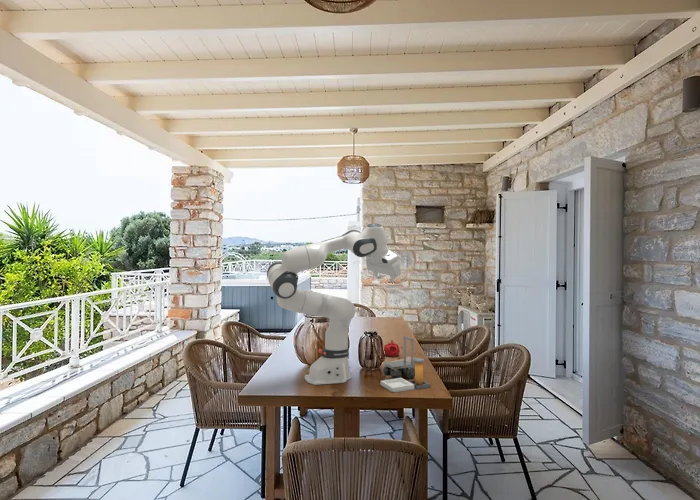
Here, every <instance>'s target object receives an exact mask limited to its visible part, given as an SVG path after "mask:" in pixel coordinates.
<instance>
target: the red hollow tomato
mask: <svg viewBox="0 0 700 500" xmlns="http://www.w3.org/2000/svg"><path fill="white" fill-rule="evenodd" d="M390 341H391V342H389V341H388V342H386V343H385V344H384V346H383V348H384V351H385V354H384V356H386V357H389V358H394V357H397V356H399V354H400V352H401V349H400V347H399V345H398V343H396V342H395V341H394V340H393V339H391V340H390Z"/></svg>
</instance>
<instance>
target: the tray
mask: <svg viewBox="0 0 700 500" xmlns="http://www.w3.org/2000/svg"><path fill="white" fill-rule="evenodd" d="M408 381H409V380H407V379H404V378H403V377H401V378H396V379H389V380H385V379H384V380H380V386H381V387H383V388H385V390H388V391H389V392H391V393H399V392H400V393H401V392H406V391H411V390H412V391H413V390H415V388H414V384H412V383H410V382H408Z"/></svg>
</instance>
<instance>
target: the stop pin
mask: <svg viewBox="0 0 700 500" xmlns="http://www.w3.org/2000/svg"><path fill="white" fill-rule="evenodd" d="M414 362H415V377H414V380H415V384H417V385H419V384H423V381H424V363H425V359H424V358H421V357H415V358H414Z"/></svg>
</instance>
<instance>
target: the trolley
mask: <svg viewBox="0 0 700 500" xmlns="http://www.w3.org/2000/svg"><path fill="white" fill-rule="evenodd" d="M407 340H409V341H410V357H411V363H410V362H408V361H406V357H407ZM413 357H414V338H411V337H409V336H406V335H404V336H403V358H404V361H396V362H391V361H390V362H384V367H383V369H382V373H383V375H384V377H385V376H388V375H390V376H392V379H396V378H403V376H404V377H405V378H408V379H409V380H414V379H415V369H414V368H412V367H414V364H413Z"/></svg>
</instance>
